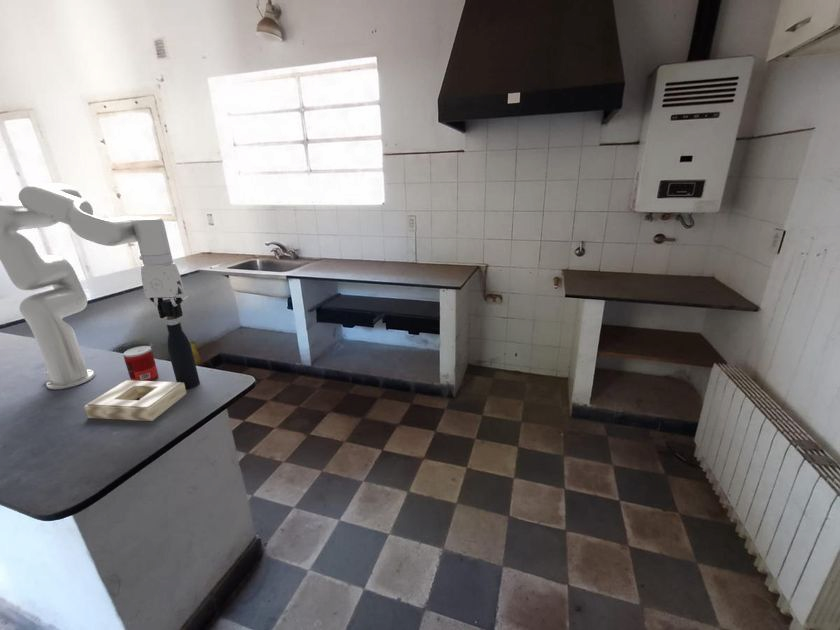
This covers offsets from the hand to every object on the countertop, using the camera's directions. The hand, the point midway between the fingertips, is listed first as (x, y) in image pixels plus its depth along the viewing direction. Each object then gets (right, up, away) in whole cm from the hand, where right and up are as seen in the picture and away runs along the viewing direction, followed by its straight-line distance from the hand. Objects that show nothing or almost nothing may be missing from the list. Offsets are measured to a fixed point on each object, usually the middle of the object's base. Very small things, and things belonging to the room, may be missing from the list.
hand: (171, 316), depth 121 cm
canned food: (-18, -22, +13) cm, 31 cm away
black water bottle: (+1, -24, +8) cm, 25 cm away
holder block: (-8, -27, -3) cm, 29 cm away
